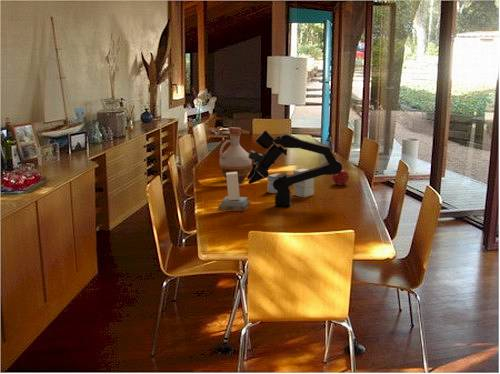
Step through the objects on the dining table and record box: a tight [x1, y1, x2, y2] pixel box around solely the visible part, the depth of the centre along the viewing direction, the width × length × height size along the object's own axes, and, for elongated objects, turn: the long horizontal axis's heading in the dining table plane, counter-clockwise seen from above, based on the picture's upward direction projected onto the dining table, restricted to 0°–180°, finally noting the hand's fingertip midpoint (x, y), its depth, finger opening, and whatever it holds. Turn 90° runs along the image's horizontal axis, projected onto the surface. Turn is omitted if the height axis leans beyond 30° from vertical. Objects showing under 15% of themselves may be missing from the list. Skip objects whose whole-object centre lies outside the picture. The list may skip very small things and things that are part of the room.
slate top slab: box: [220, 195, 248, 207], centre depth 245 cm, size 10×10×2 cm
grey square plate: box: [217, 200, 251, 212], centre depth 246 cm, size 12×12×2 cm
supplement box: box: [293, 168, 315, 198], centre depth 264 cm, size 7×7×13 cm
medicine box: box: [266, 172, 281, 194], centre depth 273 cm, size 8×4×9 cm, turn 141°
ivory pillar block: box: [225, 172, 241, 200], centre depth 244 cm, size 5×5×12 cm
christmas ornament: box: [332, 168, 350, 186], centre depth 285 cm, size 9×9×10 cm
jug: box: [218, 126, 253, 183], centre depth 293 cm, size 20×18×30 cm
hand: (248, 181), depth 244 cm, fingers open, 9 cm apart
